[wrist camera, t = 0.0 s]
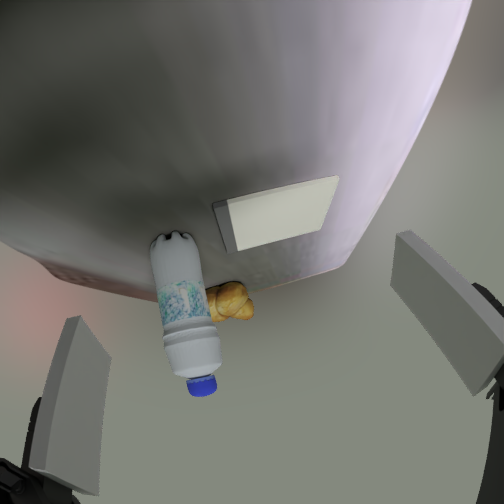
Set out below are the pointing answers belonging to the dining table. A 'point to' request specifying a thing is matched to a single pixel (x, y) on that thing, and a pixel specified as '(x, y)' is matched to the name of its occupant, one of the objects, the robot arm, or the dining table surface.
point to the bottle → (185, 312)
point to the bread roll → (229, 302)
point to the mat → (274, 213)
